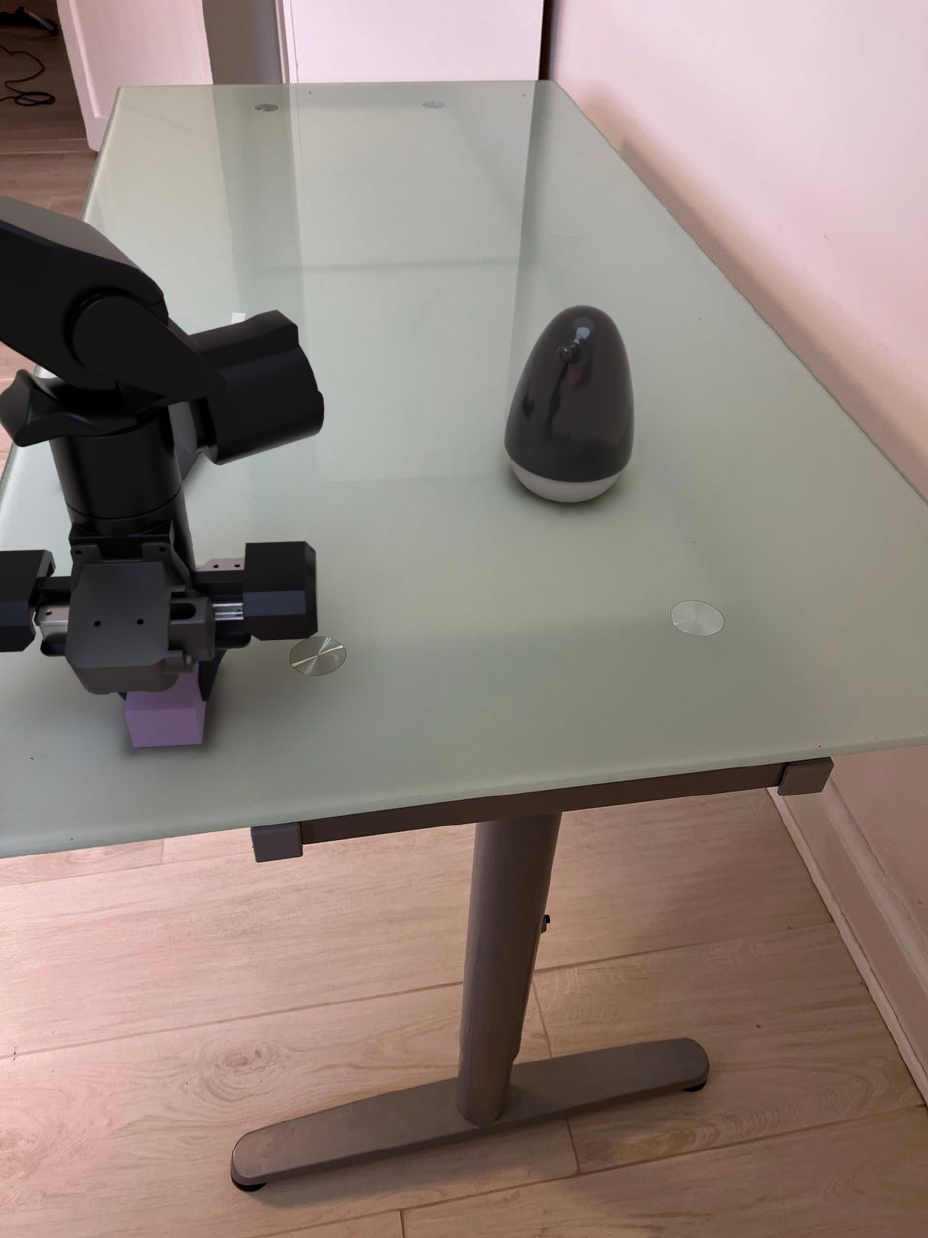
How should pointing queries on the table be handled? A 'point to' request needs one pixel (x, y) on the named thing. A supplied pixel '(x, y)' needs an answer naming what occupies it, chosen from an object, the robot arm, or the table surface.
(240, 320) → the eraser
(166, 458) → the robot arm
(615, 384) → the dark grey egg dome
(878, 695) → the table surface
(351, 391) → the table surface
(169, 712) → the soap bar
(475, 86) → the table surface
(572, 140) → the table surface
